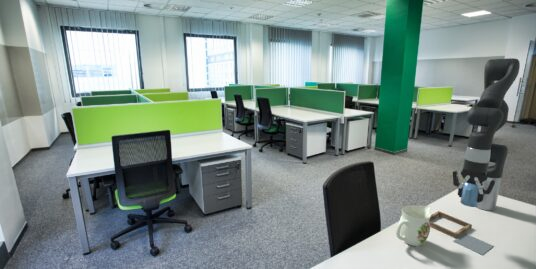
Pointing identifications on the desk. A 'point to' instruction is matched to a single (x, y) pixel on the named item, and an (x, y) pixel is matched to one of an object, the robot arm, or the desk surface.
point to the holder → (446, 231)
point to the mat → (473, 244)
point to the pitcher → (414, 225)
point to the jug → (470, 195)
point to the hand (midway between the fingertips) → (469, 199)
